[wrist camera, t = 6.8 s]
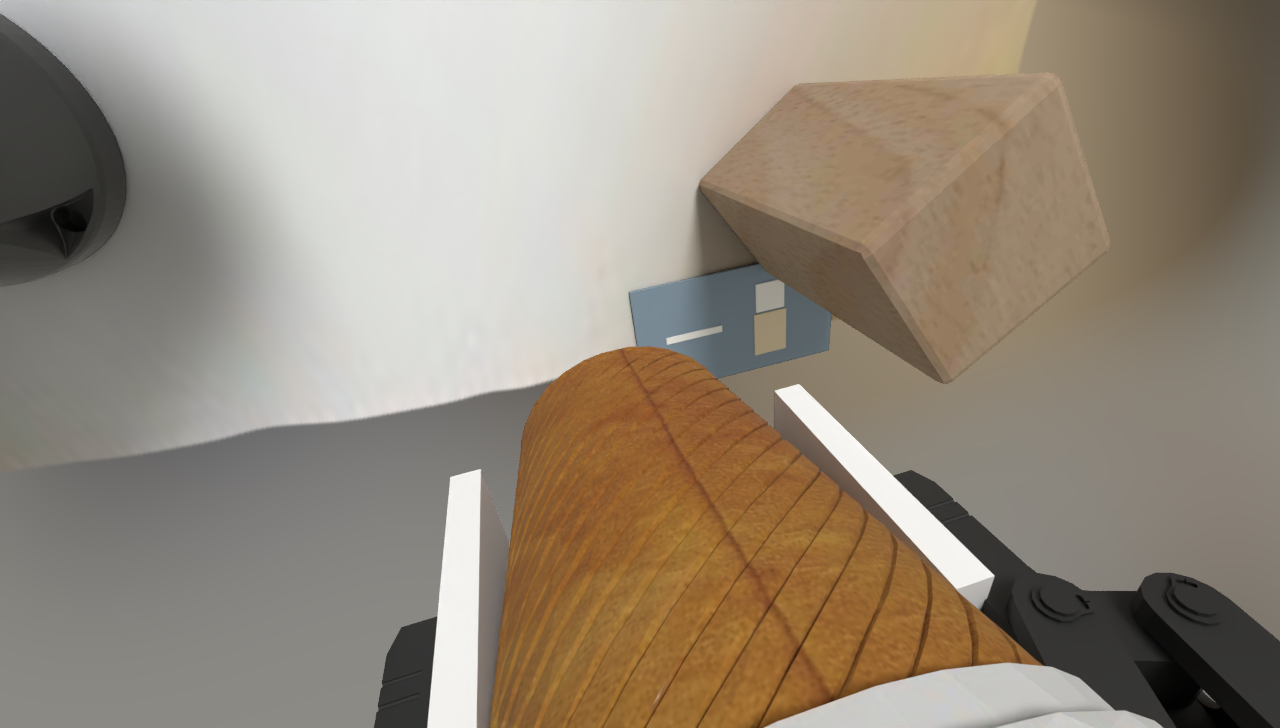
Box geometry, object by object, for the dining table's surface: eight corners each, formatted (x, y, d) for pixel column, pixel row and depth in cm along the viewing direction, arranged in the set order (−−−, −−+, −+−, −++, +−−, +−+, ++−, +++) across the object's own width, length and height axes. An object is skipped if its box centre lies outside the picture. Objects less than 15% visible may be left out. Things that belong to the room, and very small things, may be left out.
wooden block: (766, 273, 43) (947, 391, 26) (693, 183, 38) (857, 254, 21) (860, 185, 42) (1118, 248, 24) (797, 80, 37) (1064, 65, 19)
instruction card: (644, 395, 46) (645, 397, 46) (628, 292, 41) (629, 293, 41) (827, 348, 49) (829, 350, 49) (833, 246, 44) (836, 247, 43)
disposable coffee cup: (702, 564, 19) (951, 1129, 9) (427, 544, 15) (307, 1467, 5) (829, 335, 15) (1494, 835, 5) (511, 240, 12) (662, 1258, 2)
